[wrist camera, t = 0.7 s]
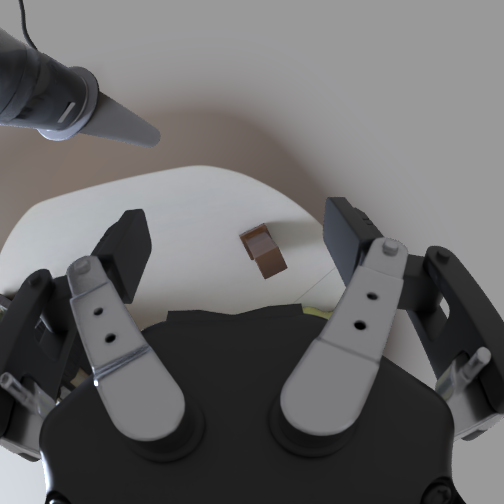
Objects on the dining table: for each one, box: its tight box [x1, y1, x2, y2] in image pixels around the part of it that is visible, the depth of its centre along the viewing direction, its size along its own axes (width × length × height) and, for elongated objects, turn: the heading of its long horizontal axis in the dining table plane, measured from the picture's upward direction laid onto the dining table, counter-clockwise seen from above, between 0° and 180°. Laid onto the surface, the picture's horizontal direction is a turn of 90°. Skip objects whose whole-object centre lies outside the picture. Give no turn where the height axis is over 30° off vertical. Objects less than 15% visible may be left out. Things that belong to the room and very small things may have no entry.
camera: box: [34, 318, 93, 402], centre depth 34 cm, size 11×14×15 cm
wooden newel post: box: [239, 223, 287, 279], centre depth 36 cm, size 4×4×10 cm
